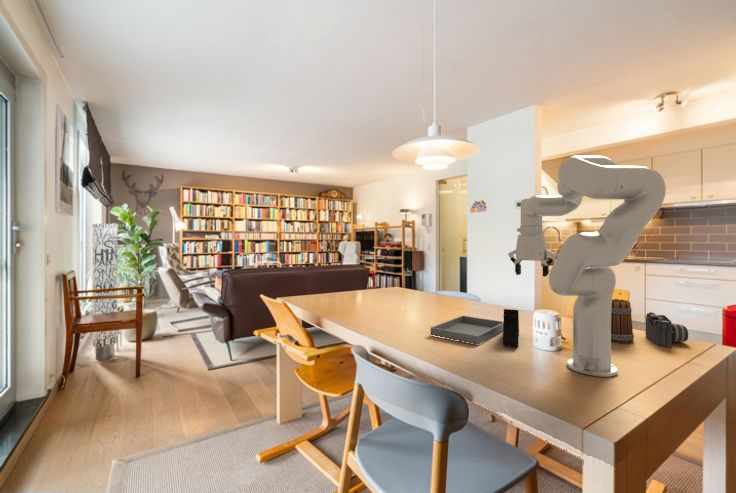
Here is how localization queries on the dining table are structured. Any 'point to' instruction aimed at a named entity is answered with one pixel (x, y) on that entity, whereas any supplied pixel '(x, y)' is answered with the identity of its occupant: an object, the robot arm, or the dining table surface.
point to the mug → (621, 322)
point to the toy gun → (510, 327)
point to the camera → (664, 330)
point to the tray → (468, 329)
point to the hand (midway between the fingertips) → (531, 275)
